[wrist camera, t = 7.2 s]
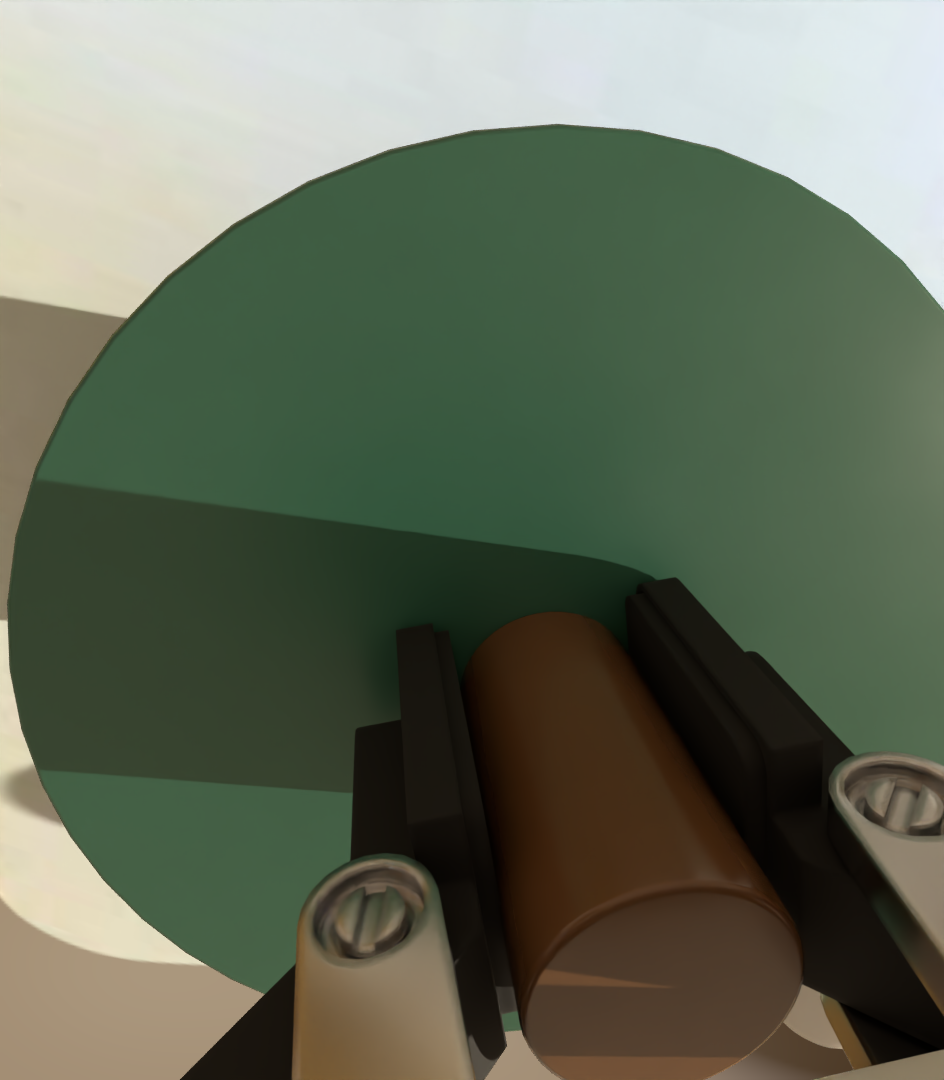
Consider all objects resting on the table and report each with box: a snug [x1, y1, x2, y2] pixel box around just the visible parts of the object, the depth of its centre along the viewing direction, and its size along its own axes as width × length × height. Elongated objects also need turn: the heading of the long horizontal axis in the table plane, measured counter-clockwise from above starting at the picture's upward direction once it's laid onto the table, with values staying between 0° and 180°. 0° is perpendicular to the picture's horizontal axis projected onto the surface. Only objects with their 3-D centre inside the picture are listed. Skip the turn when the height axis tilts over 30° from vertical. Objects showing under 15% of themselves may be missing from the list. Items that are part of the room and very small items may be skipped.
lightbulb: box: [783, 985, 843, 1049], centre depth 37 cm, size 6×6×11 cm
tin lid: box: [7, 124, 944, 1080], centre depth 9 cm, size 15×15×6 cm
